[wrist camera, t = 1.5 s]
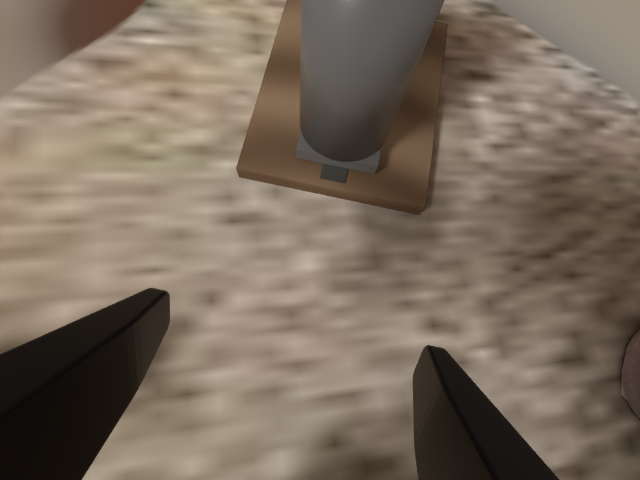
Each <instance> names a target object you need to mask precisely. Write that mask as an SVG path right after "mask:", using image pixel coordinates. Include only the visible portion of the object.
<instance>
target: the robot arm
mask: <svg viewBox="0 0 640 480" xmlns="http://www.w3.org/2000/svg"><path fill="white" fill-rule="evenodd" d="M169 322H170V296H169V293H168V292H167V291H165V290H160V289H155V288H149V289H146V290H144V291H142V292H139V293H137V294H135V295H133V296H130V297H128V298H126V299H124V300H121V301H119V302H117V303H115V304H112V305H110V306H108V307H106V308H103V309H101V310H99V311H97V312H94V313H92V314H90V315H88V316H85V317H83V318H81V319H79V320H76V321H74V322H72V323H70V324H67V325H65V326H63V327H61V328H58V329H56V330H54V331H52V332H50V333H47V334H45V335H43V336H41V337H38V338H36V339H34V340H32V341H29V342H27V343H25V344H23V345H20V346H18V347H16V348H14V349H11V350H9V351H7V352H5V353H2V354H0V480H82V478H83V477H84V475H85V474H86V472H87V470H88V469H89V467H90V466H91V464H92V462H93V461H94V459H95V458H96V456H97V454H98V453H99V451H100V450H101V448H102V446H103V445H104V443H105V442H106V440H107V439H108V437H109V435H110V434H111V432H112V431H113V429H114V427H115V426H116V424H117V423H118V421H119V419H120V418H121V416H122V415H123V413H124V411H125V410H126V408H127V407H128V405H129V403H130V402H131V400H132V399H133V397H134V395H135V394H136V392H137V390H138V388H139V386H140V384H141V383H142V381H143V379H144V377H145V374H146V372H147V370H148V368H149V366H150V364H151V362H152V360H153V358H154V356H155V354H156V352H157V350H158V348H159V346H160V344H161V341H162V339H163V337H164V335H165V333H166V331H167V329H168V326H169ZM413 415H414V447H415V457H416V465H417V472H418V480H559V479H558V477H557V476H556V475H555V474H554V473H553V472H552V471H551V470H550V468H549V467H548V466H547V465H546V464H545V463H544V462H543V460H542V459H541V458H540V457H539V456H538V455H537V454H536V452H535V451H534V450H533V449H532V448H531V447H530V446H529V444H528V443H527V442H526V441H525V440H524V439H523V438H522V436H521V435H520V434H519V433H518V432H517V431H516V430H515V428H514V427H513V426H512V425H511V424H510V423H509V422H508V420H507V419H506V418H505V417H504V416H503V415H502V414H501V412H500V411H499V410H498V409H497V408H496V407H495V406H494V405H493V403H492V402H491V401H490V400H489V399H488V398H487V397H486V395H485V394H484V393H483V392H482V391H481V390H480V389H479V387H478V386H477V385H476V384H475V383H474V382H473V381H472V379H471V378H470V377H469V376H468V375H467V374H466V373H465V371H464V370H463V369H462V368H461V367H460V366H459V365H458V363H457V362H456V361H455V360H454V359H453V358H452V357H451V355H450V354H449V353H448V352H447V351H446V350H445V349H443V348H440V347H435V346H430V345H427V346H425V348H424V349H423V351H422V353H421V356H420V358H419V360H418V363H417V365H416V368H415V370H414V374H413Z"/></svg>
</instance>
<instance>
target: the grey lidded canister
mask: <svg viewBox="0 0 640 480" xmlns="http://www.w3.org/2000/svg"><path fill="white" fill-rule="evenodd" d="M443 2H444V0H301V55H300V129H301V132H300V136H299V140H298V144H297V148H296V158H299V159H304V160H309V161H314V162H319V163H323V164H328V165H333V166H338V167H342V168H347V169H352V170H357V171H362V172H366V173H371V174H375V172H376V170H377V167H378V163H379V157H380V151H381V147H382V146H383V144H384V142H385V141H386V139H387V136H388V134H389V131H390V129H391V127H392V124H393V122H394V119H395V117H396V115H397V112H398V110H399V108H400V105H401V103H402V100H403V98H404V96H405V93H406V91H407V88H408V86H409V84H410V81H411V79H412V76H413V74H414V72H415V69H416V67H417V65H418V62H419V60H420V57H421V55H422V53H423V50H424V48H425V45H426V43H427V41H428V38H429V36H430V33H431V31H432V29H433V26H434V24H435V22H436V19H437V17H438V14H439V12H440V10H441V7H442V5H443Z"/></svg>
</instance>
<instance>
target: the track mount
mask: <svg viewBox="0 0 640 480" xmlns="http://www.w3.org/2000/svg"><path fill="white" fill-rule="evenodd" d="M447 27H448V24H445V23H440V22H435V24H434V26H433V29H432V31H431V33H430V36H429V38H428V41H427V43H426V45H425V48H424V50H423V53H422V55H421V57H420V60H419V62H418V65H417V67H416V69H415V72H414V74H413V76H412V79H411V81H410V84H409V86H408V88H407V91H406V93H405V96H404V98H403V100H402V103H401V105H400V108H399V110H398V112H397V115H396V117H395V119H394V122H393V124H392V127H391V129H390V131H389V134H388V136H387V139H386V141H385V142H384V144H383V146H382V147H381V151H380V157H379V163H378V167H377V170H376V172H375V174H371V173H366V172H362V171H357V170H352V169H347V168H342V167H338V166H333V165H328V164H323V163H319V162H314V161H309V160H304V159H299V158H296V148H297V144H298V140H299V136H300V132H301V129H300V55H301V0H287V1H286V4H285V8H284V11H283V14H282V18H281V21H280V24H279V28H278V31H277V34H276V38H275V41H274V44H273V48H272V51H271V54H270V58H269V61H268V64H267V68H266V71H265V74H264V78H263V81H262V84H261V88H260V91H259V94H258V98H257V101H256V104H255V108H254V111H253V114H252V118H251V121H250V124H249V128H248V131H247V134H246V138H245V141H244V144H243V148H242V151H241V154H240V158H239V161H238V164H237V168H236V169H237V172H238V175H239V177H241V178H246V179H251V180H256V181H261V182H265V183H270V184H275V185H280V186H284V187H289V188H294V189H299V190H303V191H308V192H313V193H318V194H323V195H327V196H332V197H337V198H342V199H346V200H351V201H356V202H361V203H365V204H370V205H375V206H380V207H385V208H389V209H394V210H399V211H404V212H408V213H413V214H418V215H419V214H420V213H421V212H422V211H423V210H424V209H425V206H426V198H427V190H428V182H429V173H430V165H431V157H432V149H433V141H434V133H435V125H436V116H437V108H438V100H439V92H440V84H441V76H442V68H443V60H444V51H445V43H446V35H447Z"/></svg>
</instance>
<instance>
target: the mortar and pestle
mask: <svg viewBox="0 0 640 480" xmlns="http://www.w3.org/2000/svg"><path fill="white" fill-rule="evenodd" d="M621 395H622V396H623V397H624V398H625V399H626V400H627V402H628V403H629V405H630V407H631V408H632V410H633V412H634V413H635V414H636V416H637V417H638V418H639V419H640V330H639V331H638V332H637V333H636V334H635V335H634V336H633V338H632V339H631V341H630V342H629V344H628V346H627V349H626V353H625V358H624V363H623V368H622V382H621Z"/></svg>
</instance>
